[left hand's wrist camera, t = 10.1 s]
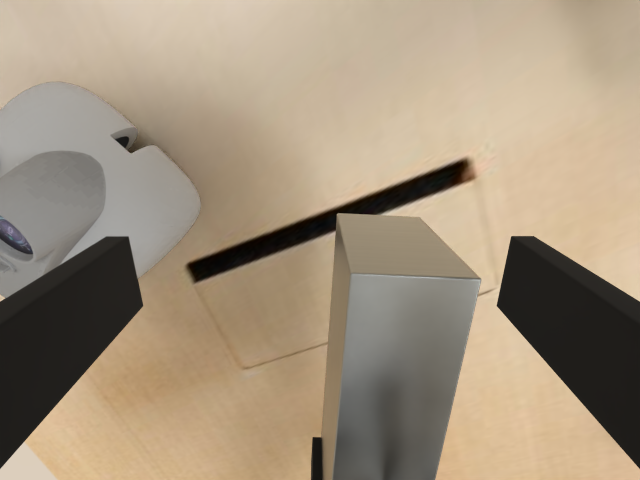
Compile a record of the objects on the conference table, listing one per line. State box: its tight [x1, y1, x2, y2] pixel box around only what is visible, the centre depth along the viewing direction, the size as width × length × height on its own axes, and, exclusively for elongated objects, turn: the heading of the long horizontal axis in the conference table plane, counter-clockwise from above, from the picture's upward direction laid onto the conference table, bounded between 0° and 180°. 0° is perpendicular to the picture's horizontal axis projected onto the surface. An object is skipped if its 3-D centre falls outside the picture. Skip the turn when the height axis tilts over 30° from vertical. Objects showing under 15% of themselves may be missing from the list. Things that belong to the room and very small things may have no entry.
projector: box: [0, 82, 201, 298], centre depth 29 cm, size 22×23×15 cm
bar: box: [321, 213, 481, 480], centre depth 22 cm, size 24×5×9 cm, turn 177°
